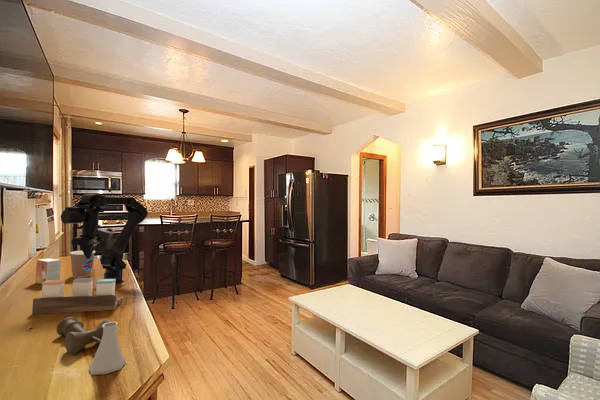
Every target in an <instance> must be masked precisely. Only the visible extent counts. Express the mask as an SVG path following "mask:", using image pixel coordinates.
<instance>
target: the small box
mask: <svg viewBox="0 0 600 400" xmlns="http://www.w3.org/2000/svg"><path fill="white" fill-rule="evenodd" d="M61 269H62V259H56V258H52V257H51V258H50V257H48V258H41V259H37V260H36V269H35V271H36V272H35V282H34V283H35V284H39V285H42V283H43V282H45V281H48V280H61Z"/></svg>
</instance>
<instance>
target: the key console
mask: <svg viewBox="0 0 600 400" xmlns="http://www.w3.org/2000/svg"><path fill="white" fill-rule="evenodd" d="M122 302H123V297H117V295H116V294H115V295H98V296H96V295H92V296H73V295H72V296H64V297H47V298H42V297H34V298H33V299H32V308H31V310H32V312H31V313H32V315H37V314H38V315H40V314H42V315H43V314H56V313H59V314H61V313H77V312H79V313H80V312H96V311H97V312H98V311H113V310H114V311H115V309H116V308H117V307H119V306H120V304H121V303H122Z"/></svg>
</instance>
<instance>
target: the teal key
mask: <svg viewBox="0 0 600 400" xmlns="http://www.w3.org/2000/svg"><path fill="white" fill-rule="evenodd" d="M115 281H116V279H104V278H100V279H97V281H95V284H96V289H95V296H98V295H116V294H115V293H116V283H115Z"/></svg>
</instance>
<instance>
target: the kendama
mask: <svg viewBox="0 0 600 400" xmlns="http://www.w3.org/2000/svg"><path fill="white" fill-rule="evenodd" d="M108 322H111V320H109V319H104V320H102V321H101V322H100V323H99V324H98V325H97V326H96V327H94V328H93V329H92V328H91V329H89V330H85V329H84V323H83V322H82V321H80V320H78V319H77V318H76V317H73V316H69V317H65V318H63V319H61V320H60V321H59V322H58V323H57V325H56V329H55V331H56V333H57V335H58V336H62V337H64V336H65V338H64V346H65V350H66V351H67V353H68V354H69V355H71V356H73V355H75V354H77V353H78V352H80V350H82V348H85V346H88V345H91V344H93V343H98V344H100V343H101V340H102V336H103V328H102V325H103V324H105V323H108Z"/></svg>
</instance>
